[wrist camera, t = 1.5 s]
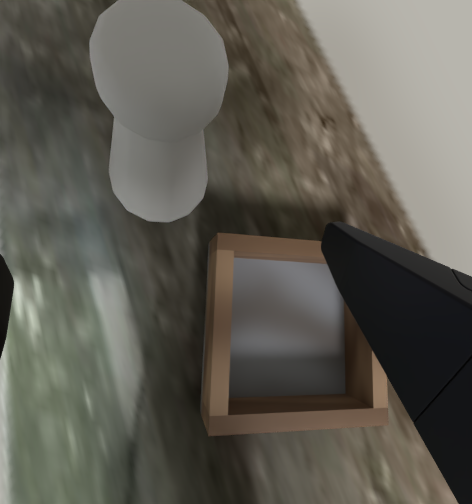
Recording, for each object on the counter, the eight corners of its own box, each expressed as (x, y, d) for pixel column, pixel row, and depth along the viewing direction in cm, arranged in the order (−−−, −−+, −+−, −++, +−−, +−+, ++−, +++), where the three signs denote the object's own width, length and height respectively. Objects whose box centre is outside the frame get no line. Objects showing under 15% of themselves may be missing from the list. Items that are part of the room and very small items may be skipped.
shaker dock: (353, 405, 23) (388, 425, 19) (200, 412, 20) (208, 436, 17) (350, 253, 24) (382, 246, 21) (208, 242, 22) (217, 232, 18)
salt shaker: (97, 203, 21) (2, 56, 8) (141, 133, 22) (117, -88, 9) (179, 244, 21) (208, 171, 9) (216, 175, 23) (286, 25, 10)
